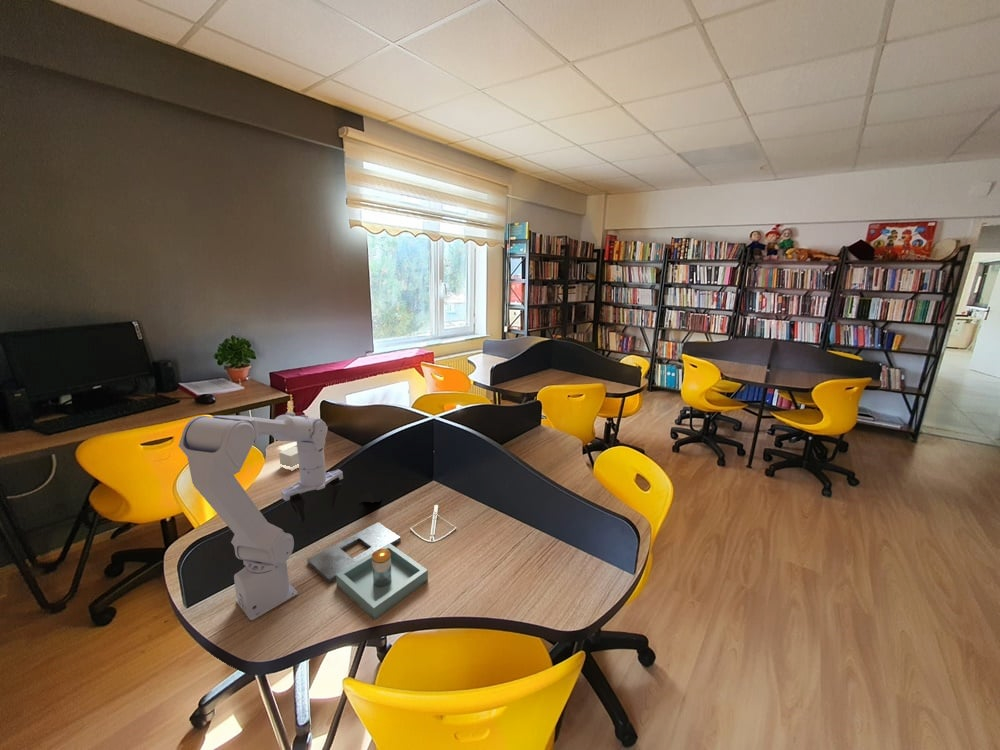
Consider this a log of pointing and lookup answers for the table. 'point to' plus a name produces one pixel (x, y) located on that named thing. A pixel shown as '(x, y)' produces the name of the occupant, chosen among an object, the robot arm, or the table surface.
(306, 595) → the table surface
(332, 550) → the bracket
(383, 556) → the orange-capped cylinder
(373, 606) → the tray
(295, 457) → the light grey cube
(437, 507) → the crossbow
